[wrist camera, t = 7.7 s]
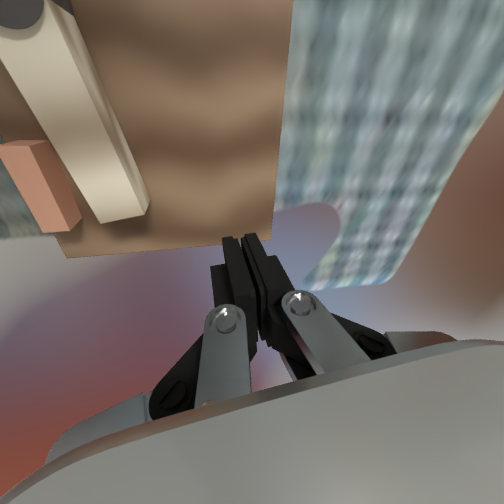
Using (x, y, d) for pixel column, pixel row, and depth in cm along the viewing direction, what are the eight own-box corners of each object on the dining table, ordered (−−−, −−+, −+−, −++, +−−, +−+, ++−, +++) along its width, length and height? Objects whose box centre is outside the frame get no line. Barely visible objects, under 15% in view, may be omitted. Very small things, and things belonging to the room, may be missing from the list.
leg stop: (18, 140, 15) (-7, 145, 13) (48, 140, 16) (28, 145, 14) (58, 219, 19) (42, 232, 17) (82, 217, 19) (70, 230, 17)
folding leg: (-32, -53, 11) (-115, -109, 8) (46, -58, 11) (-4, -114, 8) (110, 207, 19) (95, 226, 16) (153, 198, 19) (146, 216, 16)
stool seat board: (-90, -87, 11) (-137, -119, 9) (285, -25, 15) (297, -39, 14) (75, 247, 22) (66, 258, 21) (265, 231, 26) (270, 240, 25)
